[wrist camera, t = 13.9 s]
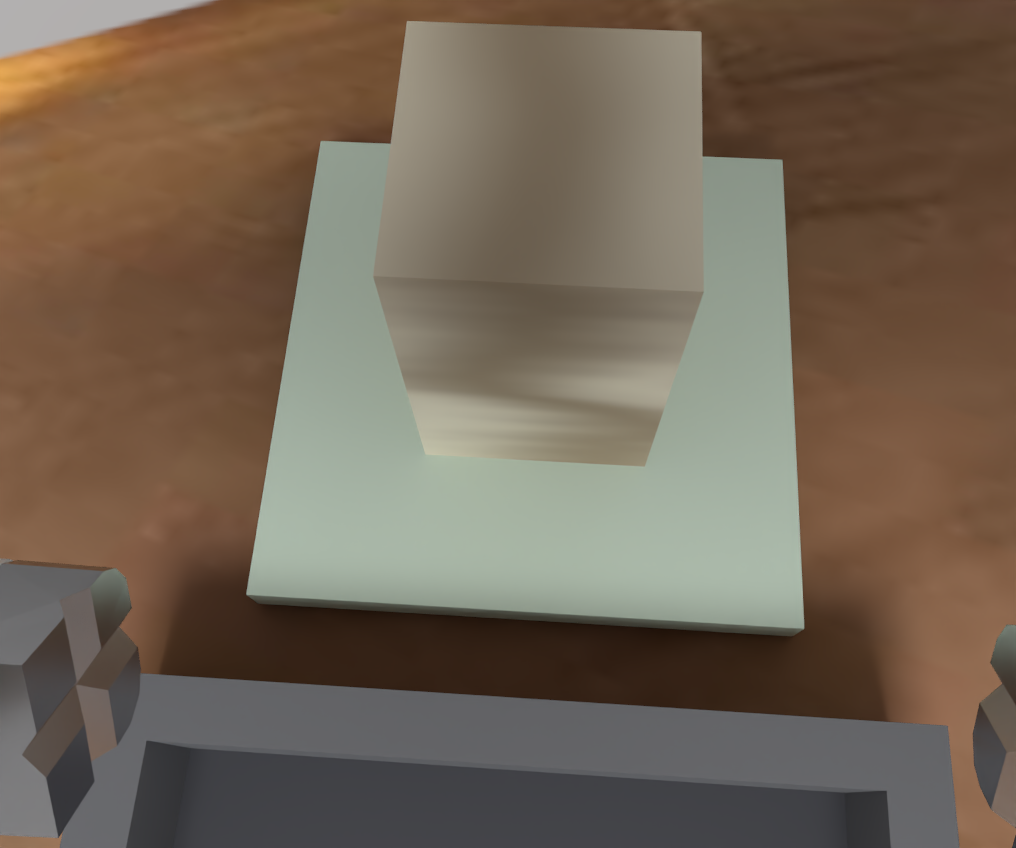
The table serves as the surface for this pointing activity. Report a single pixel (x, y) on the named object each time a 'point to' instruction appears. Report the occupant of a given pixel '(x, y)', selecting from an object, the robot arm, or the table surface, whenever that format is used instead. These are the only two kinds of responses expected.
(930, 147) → the table surface
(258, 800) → the tray
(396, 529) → the pad
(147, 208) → the table surface
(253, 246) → the table surface
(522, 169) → the birch block
